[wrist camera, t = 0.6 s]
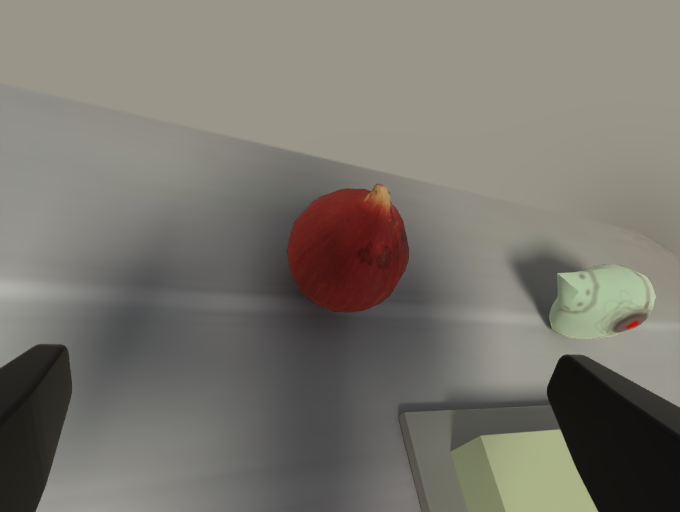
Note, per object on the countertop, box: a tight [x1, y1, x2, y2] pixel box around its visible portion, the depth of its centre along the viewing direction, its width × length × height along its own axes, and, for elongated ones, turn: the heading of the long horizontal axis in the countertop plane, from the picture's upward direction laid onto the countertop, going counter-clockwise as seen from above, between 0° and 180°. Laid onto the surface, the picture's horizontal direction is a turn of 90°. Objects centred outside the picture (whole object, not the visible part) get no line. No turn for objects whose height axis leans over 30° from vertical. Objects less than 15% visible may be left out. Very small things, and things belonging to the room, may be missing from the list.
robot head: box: [549, 264, 657, 339], centre depth 31 cm, size 8×4×7 cm, turn 102°
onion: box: [287, 184, 409, 312], centre depth 24 cm, size 6×6×8 cm
